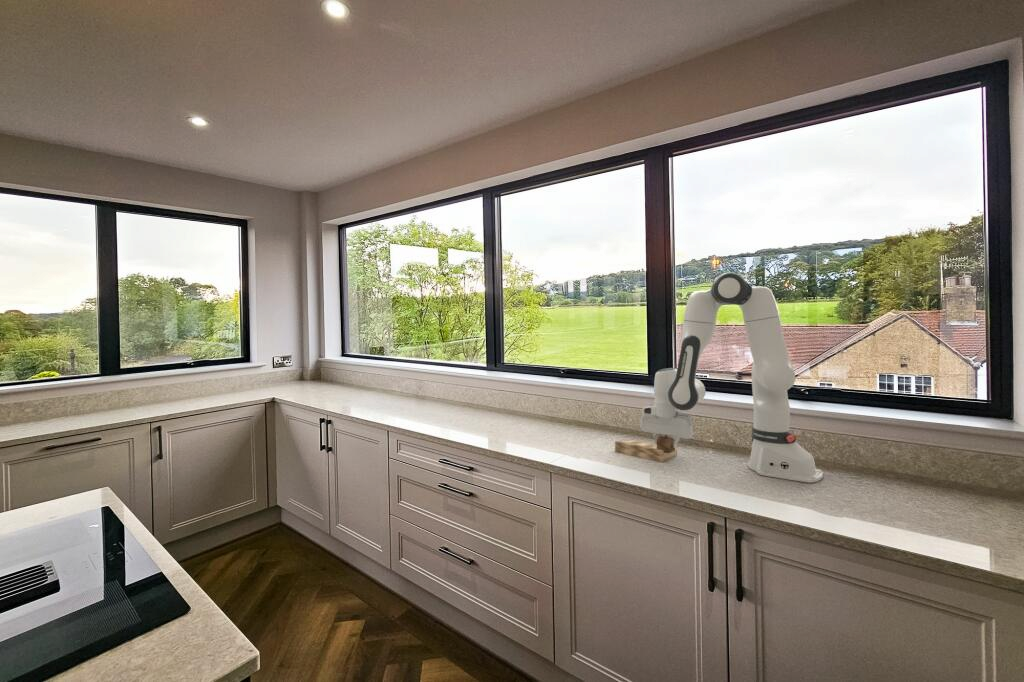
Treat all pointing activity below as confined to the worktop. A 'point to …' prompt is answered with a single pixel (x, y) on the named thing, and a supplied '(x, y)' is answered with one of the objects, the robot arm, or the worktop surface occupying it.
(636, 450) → the board
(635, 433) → the worktop surface
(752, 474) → the worktop surface
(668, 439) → the brown wooden block
